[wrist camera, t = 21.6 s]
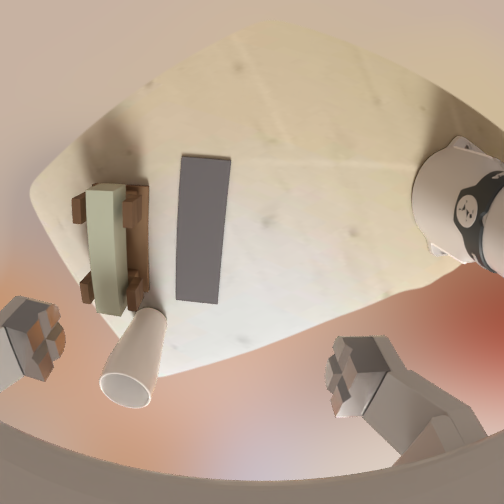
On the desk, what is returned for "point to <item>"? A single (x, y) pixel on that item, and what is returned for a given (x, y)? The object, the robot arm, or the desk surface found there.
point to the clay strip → (107, 247)
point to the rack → (136, 243)
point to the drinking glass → (135, 361)
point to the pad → (201, 228)
